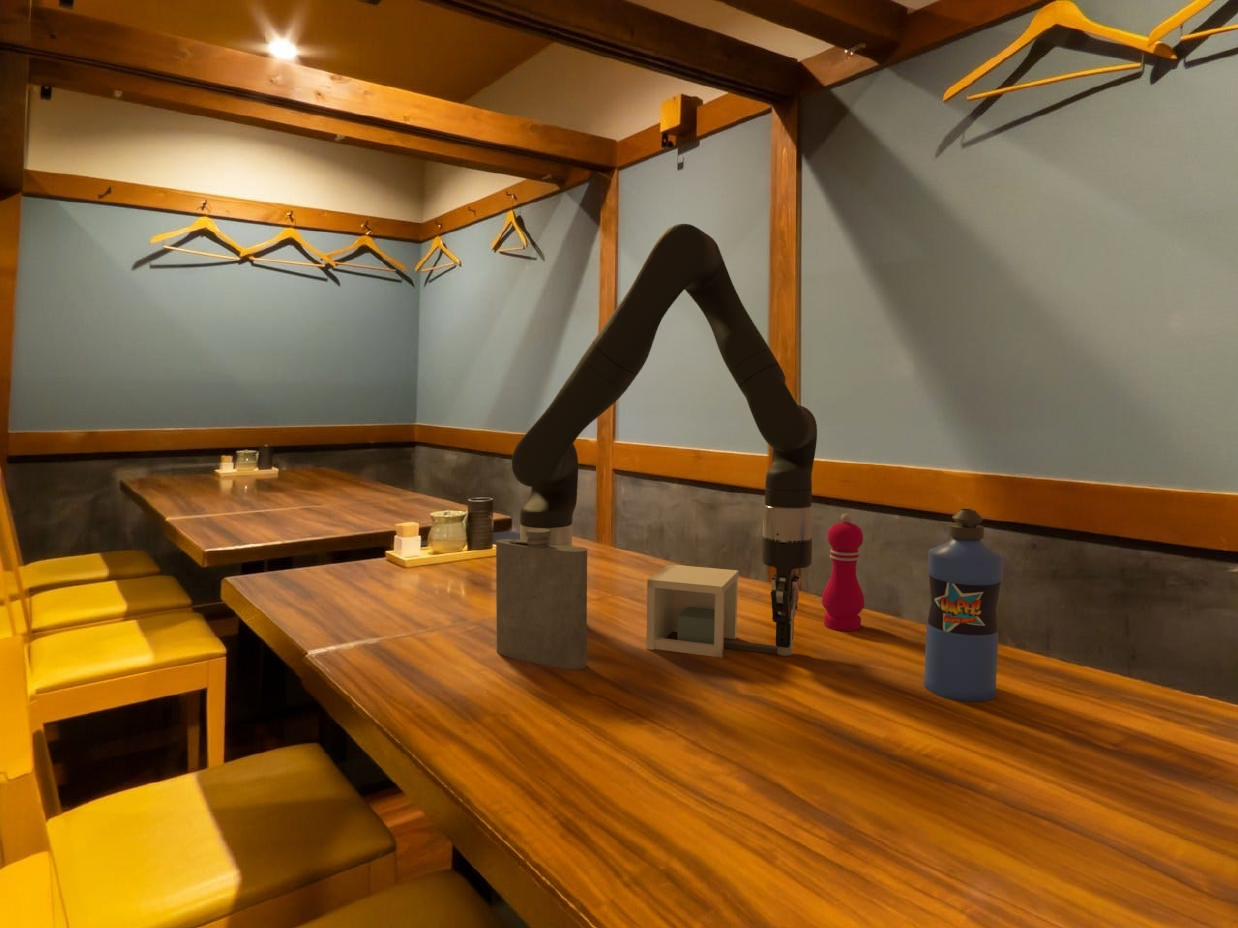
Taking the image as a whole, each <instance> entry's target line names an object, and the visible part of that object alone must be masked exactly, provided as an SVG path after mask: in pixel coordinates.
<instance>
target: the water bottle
mask: <svg viewBox="0 0 1238 928" xmlns="http://www.w3.org/2000/svg"><path fill="white" fill-rule="evenodd" d="M951 518H952V519H953V521H954V522H955V523H952V524H950V525H949V537H951V538H950V539H949V540H948V541H947V542H946V543H943V544H939V545H937V546H936V547H933V548H930V549H929V550H928V560H927V562H928V563H927V574H928V578H929V591H930V608H929V612H928V616H927V617H928V618H927V622H926V630H925V633H926V636H925V651H924V652H925V653H924V654H925V655H924V657H925V658H924V676H923V677H924V679H923V685H924V688H925V689H926V690H928V691H929V692H930V693H932V694H934V695H937V696H939V697H941V698H944V699H945V698H946V699H949V700H954V701H958V702H959V701H960V702H968V703H969V702H970V703H972V702H973V703H977V702H978V703H980V702H981V703H982V702H987V701H991V700H993V699H994V698H995V697H996V691H997V690H996V689H997V687H996V686H997V673H998V672H997V669H998V655H999V654H998V652H999V650H998V647H999V627H998V616H997V607H998V601H999V596H1000V595H999V594H1000V590H1001V585H1002V582H1003V581H1004V580H1003V578H1004V577H1003V576H1004V561H1005V556H1004V555H1003V554H1001V553H1000V552H997V551H996V550H994V549H992V548H990V547H989V546H987V545H986V544H985V543H984V542H983V541H982V540H983V539H984V537H985V536H984V535H985V527H984V526H983V525H980V523H982V521H983V520H984V518H983V517H982V516H981V515H980V514H979V512H977V510H976V509H974V508H973V509H972V508H960V509H959V510H958V511H957V512H955V513H954V514H953V516H951Z"/></svg>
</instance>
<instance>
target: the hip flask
mask: <svg viewBox="0 0 1238 928" xmlns="http://www.w3.org/2000/svg"><path fill="white" fill-rule="evenodd" d="M526 536H528V537H529V539H527V540H521V539H519V538H517V539H512V538H510V539H509V538H504V539H503V538H502V539H497V540H496V541H495V548H496V549H495V552H496V553H495V554H496V555H495V558H496V559H495V561H496V562H495V564H496V565H495V568H496V569H495V573H496V575H495V576H496V577H495V579H496V580H495V581H496V583H495V584H496V585H495V586H496V587H495V588H496V589H495V590H496V592H495V593H496V596H495V597H496V601H495V602H496V654H498V655H501V656H504V657H507V658H510V659H515V660H518V661H522V662H527V663H530V664H531V663H532V664H536V665H541V666H547V667H550V668H557V669H566V670H575V671H576V670H577V671H579V670H583V669H585V668H586V667H587V663H588V662H587V661H588V660H587V657H588V655H587V653H588V652H587V649H588V648H587V644H588V641H587V640H588V638H587V637H588V636H587V635H588V631H587V630H588V628H587V627H588V600H587V599H588V549H587V548H586V547H578V546H576V547H575V546H572V547H566V546H555V545H548V543H549V541H548V538H547V536H550V530H549V529H542V528H534V529H527V530H526Z"/></svg>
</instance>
